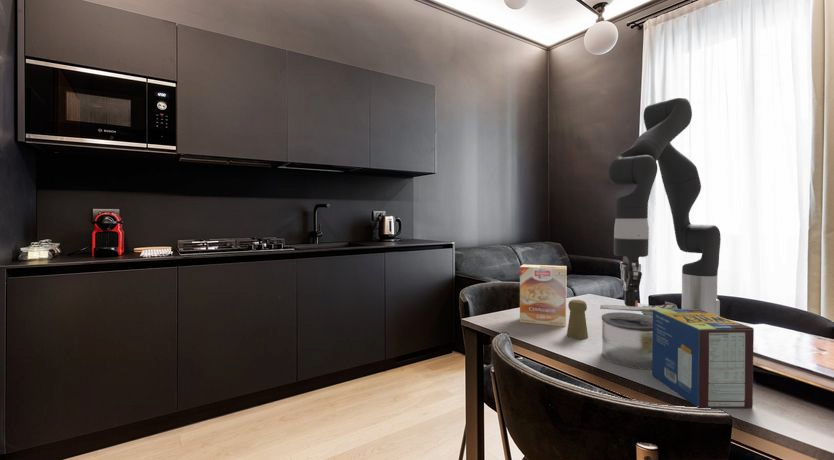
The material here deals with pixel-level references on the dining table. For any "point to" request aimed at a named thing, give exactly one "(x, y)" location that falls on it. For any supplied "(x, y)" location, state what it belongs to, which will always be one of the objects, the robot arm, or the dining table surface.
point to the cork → (577, 320)
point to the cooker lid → (629, 308)
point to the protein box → (703, 357)
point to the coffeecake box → (543, 294)
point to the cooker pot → (627, 339)
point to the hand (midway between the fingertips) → (629, 305)
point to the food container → (667, 306)
